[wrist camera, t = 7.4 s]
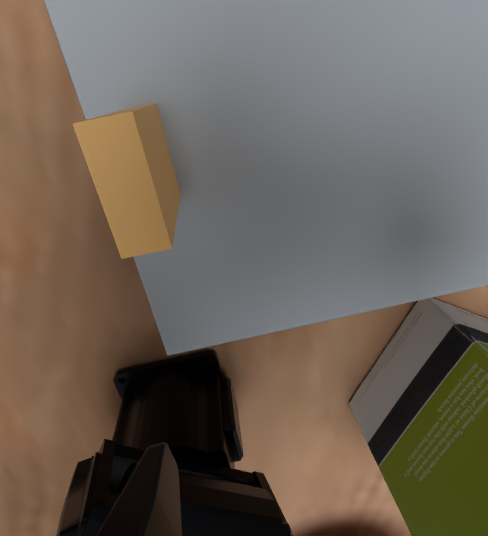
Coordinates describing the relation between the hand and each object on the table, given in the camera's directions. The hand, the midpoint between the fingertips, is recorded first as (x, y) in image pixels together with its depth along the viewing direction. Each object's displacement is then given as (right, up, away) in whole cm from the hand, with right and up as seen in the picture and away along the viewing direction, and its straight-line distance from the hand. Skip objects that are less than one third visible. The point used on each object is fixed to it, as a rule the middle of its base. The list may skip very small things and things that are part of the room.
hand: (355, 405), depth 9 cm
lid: (+1, +9, +5) cm, 10 cm away
